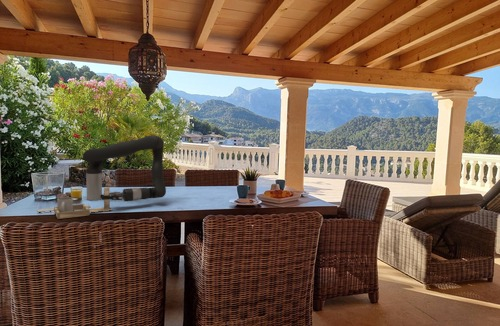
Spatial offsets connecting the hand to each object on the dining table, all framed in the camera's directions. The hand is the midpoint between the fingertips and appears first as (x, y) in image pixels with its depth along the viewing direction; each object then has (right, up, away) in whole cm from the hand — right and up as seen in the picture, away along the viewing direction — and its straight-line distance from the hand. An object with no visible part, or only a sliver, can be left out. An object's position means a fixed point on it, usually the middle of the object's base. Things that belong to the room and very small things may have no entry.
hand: (101, 197), depth 188 cm
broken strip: (-22, -7, +1) cm, 23 cm away
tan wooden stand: (-7, -8, -4) cm, 12 cm away
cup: (-15, -9, -10) cm, 20 cm away
